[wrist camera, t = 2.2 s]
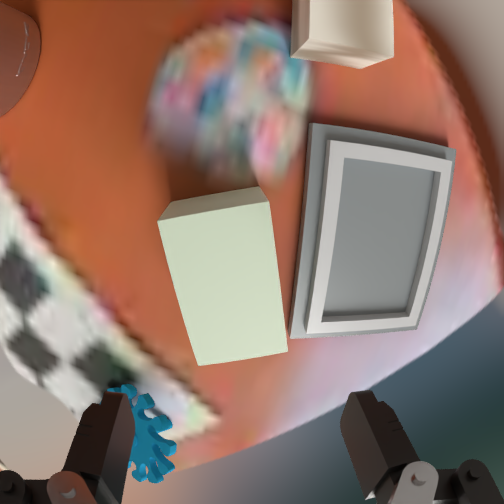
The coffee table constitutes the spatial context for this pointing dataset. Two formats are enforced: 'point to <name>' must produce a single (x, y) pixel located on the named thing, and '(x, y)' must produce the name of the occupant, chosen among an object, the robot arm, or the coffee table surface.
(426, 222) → the plate
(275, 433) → the coffee table surface
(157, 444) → the gear
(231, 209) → the brick
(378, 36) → the cube
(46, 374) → the coffee table surface
